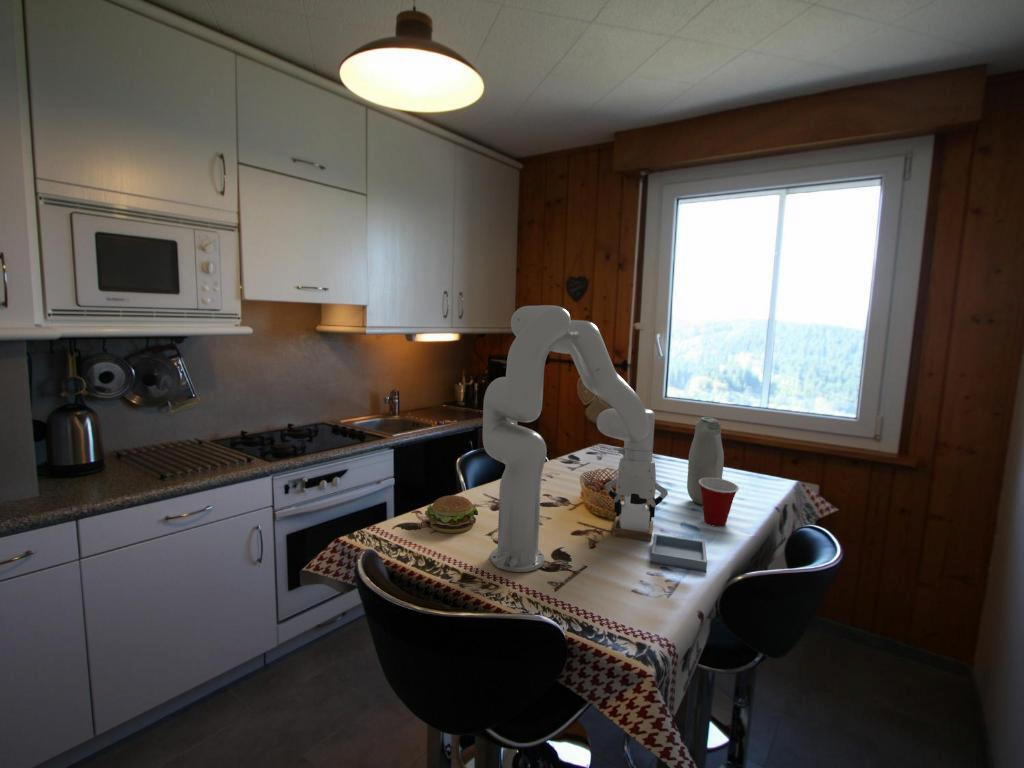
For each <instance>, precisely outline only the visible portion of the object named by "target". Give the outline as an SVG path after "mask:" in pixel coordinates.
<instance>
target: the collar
mask: <svg viewBox="0 0 1024 768" xmlns="http://www.w3.org/2000/svg"><path fill="white" fill-rule="evenodd" d="M613 522H614V523H613V524H612V527H611V536H613V537H620V538H625V539H631V540H638V541H645V542H652V536H653V529H654V520H652V519H651V521H649V533H648V532H641V531H634V530H628V529H621V528H620V527H619V516H618V517H617V516H616V515H615V519H614V521H613Z"/></svg>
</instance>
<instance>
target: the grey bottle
mask: <svg viewBox="0 0 1024 768" xmlns="http://www.w3.org/2000/svg"><path fill="white" fill-rule="evenodd" d="M721 429H722V427H721V424H720V422H719V420H717V419H716V418H714V417H709V416H703V417H700V418H699V419H698V420H697V422H696V424H695V429H694V434H693V435H694V436H693V439H692V442H691V445H690V449H689V453H688V464H687V481H686V489H687V493H688V496H689V497H690V499H691V500H692V501H693V502H694V503H696V504H699V505H702V506H703V504H702V493H701V486H700V484H699V480H700V479H701V478H719V479H723V472H724V461H725V456H724V455H725V454H724V448H723V443H722V442H723V441H722V436H721V435H722V434H721V433H722V432H721V431H722V430H721Z"/></svg>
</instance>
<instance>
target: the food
mask: <svg viewBox="0 0 1024 768" xmlns="http://www.w3.org/2000/svg"><path fill="white" fill-rule="evenodd" d="M478 511H479V510H477V507H476V506H475V505H473V502H471V500H470V499H468V498H466V497H465V496H462V495H461V496H460V495H455V494H454V495H445V496H442V497H439V498H438V499H436V500H435V501H434V502H433V503H432V504H431V503H430V504H429V505H428V506H427V507H426V510H425V511H424V515H425V516H426V518H427V519H428V521H429V523H430V526H431V528H432V529H433V530H434V531H437V532H440V533H443V534H445V533H446V534H458V533H460V534H461V533H463V532H467V531H470V530H471V529H472V528H473V527H474V524H476V520H477V519H476V517H475V516H479V512H478Z"/></svg>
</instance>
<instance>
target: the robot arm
mask: <svg viewBox="0 0 1024 768" xmlns="http://www.w3.org/2000/svg"><path fill="white" fill-rule="evenodd" d="M510 327H511V328H510V329H511V332H512V333H513V334H514V335H513V336H515V339H514V340H513V341H512V343H511V345H510V347H509V350H508V355H507V360H506V371H505V376H500V377H498V378H494V380H493V381H491V382H490V383H489V385H488V386H487V388H486V390H485V394H484V397H483V407H482V408H483V410H482V443H483V448H484V451H485V452H486V453H487V454H488V455H489V456H490V457H491V458H492V459H495V460H496V461H498V462H500V463H503V464H504V465H505V469H504V471H503V473H502V476H501V479H500V482H499V493H498V495H499V498H498V525H497V527H498V531H497V547H496V548H495V549H494V550H492V551H491V554H490V562H491V563H492V565H494V567H496V568H497V569H501V570H503V571H506V572H512V573H527V572H533V571H535V570H538V569H540V568H541V567H542V566H543V565H544V563H545V555H544V553H543V552H542V551H540V550H539V538H540V537H539V536H540V534H539V533H540V517H541V516H540V515H541V514H540V513H541V490H542V477H543V473H544V472H543V471H544V466H545V463H546V458H547V444H546V442H545V440H544V438H543V437H542V435H541V434H539V433H538V432H537V431H535V430H533V429H531V428H528V427H525V426H522V425H520V424H519V425H518V422H520V423H532V422H534V421H536V420H537V419H538V418H539V417H540V415H541V412H542V410H543V400H544V399H543V397H544V378H545V377H544V375H545V366H546V365H545V364H546V361H547V358H548V355H549V353H550V352H554V353H558V354H567V355H570V357H571V359H572V361H573V363H574V365H575V367H576V370H577V373H578V375H579V377H580V379H581V381H582V384H583V385H584V387H585V388H586V389H587V390H588V391H589V392H591V393H592V394H593V395H595V396H596V397H597V398H600V399H601V400H603V401H605V402H606V403H607V404H608V405H609V406H611V407H612V408H611V407H610V408H607V409H604V410H603V411H601V412H600V413H599V414H598V416H597V418H596V426H597V429H598V431H599V432H600V433H601V434H602V435H604V436H607V437H610V438H613V439H618V440H620V441H623V442H624V443H623V444H624V445H623V447H619V448H618V450H617V451H618V452H617V453H618V454H621V455H622V457H621V456H620V457H621V458H620V460H619V462H618V468H617V475H616V478H613V479H612V480H610V481H608V482H607V483H605V484H604V488H605V490H606V492H607V493H608V495H609V496H610V497H611V499H613V502H614V508H613V512H614V513H616V515H615V517H616V516H617V517H618V516H619V515H620V506H621V501H622V500H621V498H622V497H624V496H626V497H629V496H630V494H638V495H639V498H642V499H647V500H648V502H649V507H648V509H649V511H650V519H649V521H651V520H652V519H653V518H655V512H656V510H655V509H656V507H657V505H659V504H660V503H661V502H663V500H664V499H665V498H666V497H667V496H668V493H669V492H668V491H667V490H666V489H665V488H664V487H663V486H661V485H660V483H658V482H657V481H656V480H657V478H656V477H657V473H656V469H657V468H656V461H655V460H654V459H653V452H654V451H653V450H654V435H655V422H656V421H655V420H656V416H655V415H656V414H655V412H654V411H653V410H651V409H648V408H645V406H644V404H643V401H642V400H641V398H640V396H638V394H637V393H636V392H635V391H634V389H633V388H632V387H631V386H630V385H629V384H628V382H626V381H625V379H624V378H622V376H620V375H619V374H618V372H617V371H616V369H615V366H614V364H613V361H612V359H611V357H610V355H609V351H608V350H607V347H606V344H605V342H604V339H603V336H602V334H601V331H600V330H599V328H598V326H597V325H596V324H595V323H593V322H591V321H588V320H581V319H576V320H575V319H571V315H570V313H569V311H568V310H567V309H565V308H564V307H562V306H559V305H551V304H549V305H547V304H545V305H541V304H540V305H525V306H521V307H519V308H517V309H516V311H515V312H514V313H513V314H512V316H511V319H510ZM615 485H616V486H615ZM613 486H615V490H613V488H612V487H613ZM656 490H657V491H658V493H660V494H659V495H658V496H657V497H656V498H655V494H656Z"/></svg>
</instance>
